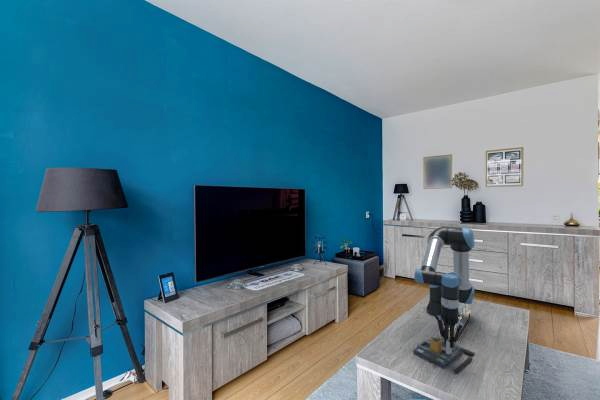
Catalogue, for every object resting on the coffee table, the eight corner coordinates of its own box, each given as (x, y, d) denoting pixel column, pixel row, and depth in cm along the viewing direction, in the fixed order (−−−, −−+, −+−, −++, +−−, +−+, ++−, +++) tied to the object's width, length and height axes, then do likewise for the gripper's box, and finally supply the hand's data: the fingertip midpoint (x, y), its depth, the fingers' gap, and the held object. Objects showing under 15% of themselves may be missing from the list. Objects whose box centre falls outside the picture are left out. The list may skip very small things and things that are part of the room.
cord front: (434, 338, 160) (434, 335, 160) (474, 354, 144) (474, 351, 143) (431, 339, 158) (431, 337, 158) (472, 357, 141) (472, 354, 141)
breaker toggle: (433, 348, 146) (434, 336, 146) (441, 352, 143) (441, 339, 142) (430, 351, 143) (430, 338, 143) (437, 354, 140) (438, 342, 140)
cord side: (468, 359, 140) (468, 356, 140) (472, 360, 139) (472, 357, 138) (453, 372, 130) (453, 369, 130) (457, 374, 128) (457, 370, 128)
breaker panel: (431, 341, 156) (432, 326, 156) (462, 354, 144) (462, 338, 143) (413, 353, 145) (413, 337, 145) (444, 369, 132) (445, 351, 132)
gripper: (432, 303, 140) (432, 349, 141) (460, 312, 130) (459, 362, 130) (440, 300, 145) (439, 344, 145) (467, 308, 134) (466, 356, 135)
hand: (448, 352), depth 138 cm, fingers closed
